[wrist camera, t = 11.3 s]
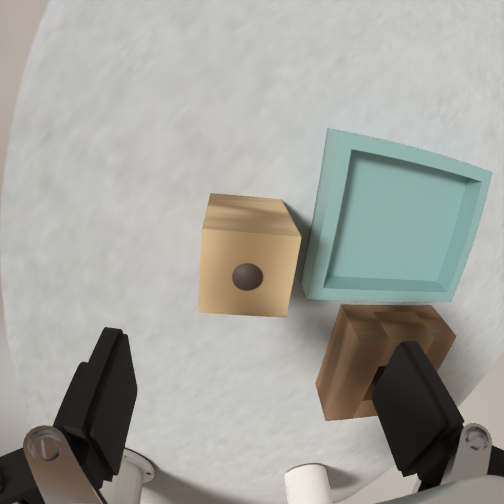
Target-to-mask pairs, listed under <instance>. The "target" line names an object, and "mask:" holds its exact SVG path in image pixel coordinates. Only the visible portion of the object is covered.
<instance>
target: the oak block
mask: <svg viewBox="0 0 504 504" xmlns="http://www.w3.org/2000/svg"><path fill="white" fill-rule="evenodd" d="M300 243H301V235H300V233H299V231H298V229H297V227H296V226H295V224H294V222H293V220H292V218H291V216H290V214H289V212H288V210H287V209H286V207H285V205H284V203H283V201H282V200H280V199H270V198H260V197H249V196H237V195H225V194H212V193H211V194H210V198H209V202H208V206H207V210H206V215H205V219H204V223H203V227H202V240H201V260H200V284H199V312H203V313H216V314H231V315H248V316H267V317H286V315H287V310H288V305H289V300H290V295H291V290H292V285H293V280H294V275H295V269H296V264H297V259H298V253H299V248H300Z"/></svg>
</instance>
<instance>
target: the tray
mask: <svg viewBox="0 0 504 504" xmlns="http://www.w3.org/2000/svg"><path fill="white" fill-rule="evenodd" d="M491 175H492V172H490V171H487V170H484V169H482V168H479V167H476V166H474V165H471V164H468V163H465V162H461V161H458V160H455V159H452V158H449V157H446V156H442V155H439V154H436V153H432V152H429V151H425V150H421V149H418V148H414V147H410V146H406V145H403V144H399V143H395V142H390V141H386V140H382V139H378V138H373V137H369V136H364V135H359V134H354V133H349V132H344V131H339V130H334V129H327V136H326V143H325V149H324V156H323V162H322V169H321V175H320V181H319V187H318V193H317V199H316V204H315V210H314V216H313V221H312V227H311V232H310V237H309V243H308V248H307V253H306V258H305V263H304V268H303V273H302V278H301V284H302V287H303V290H304V292H305V295H306V298H307V299H313V300H341V301H382V302H451V301H452V299H453V296H454V294H455V291H456V289H457V286H458V284H459V281H460V279H461V276H462V273H463V271H464V268H465V265H466V263H467V260H468V257H469V254H470V251H471V248H472V245H473V242H474V239H475V236H476V232H477V229H478V226H479V222H480V219H481V215H482V212H483V208H484V204H485V200H486V196H487V192H488V188H489V184H490V180H491Z"/></svg>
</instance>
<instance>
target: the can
mask: <svg viewBox="0 0 504 504" xmlns="http://www.w3.org/2000/svg"><path fill="white" fill-rule="evenodd" d="M284 478H285V486H286V493H287V500H288V504H334V502H333V498H332V494H331V489H330V485H329V481H328V477H327V473H326V469H325V467H323V466H322V465H319V464H304V465H300V466H297V467H294V468H292V469H290V470H289V471H288V472H287V473H286V474H285V476H284Z"/></svg>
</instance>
